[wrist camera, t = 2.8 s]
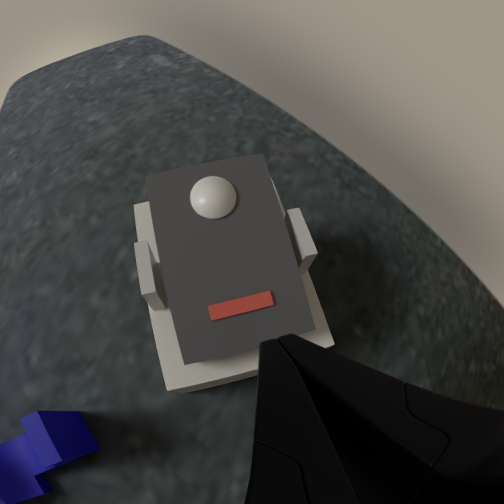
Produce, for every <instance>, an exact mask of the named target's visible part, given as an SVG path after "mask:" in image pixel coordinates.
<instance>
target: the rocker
mask: <svg viewBox="0 0 504 504" xmlns="http://www.w3.org/2000/svg"><path fill="white" fill-rule="evenodd" d="M145 179H146V186H147V193H148V199H149V205H150V211H151V217H152V223H153V229H154V234H155V240H156V245H157V250H158V255H159V260H160V265H161V270H162V275H163V280H164V284H165V289H166V294H167V298H168V302H169V307H170V311H171V315H172V319H173V323H174V327H175V332H176V335H177V339H178V343H179V347H180V351H181V355H182V358H183V362H184V365H188V364H193V363H197V362H201V361H206V360H210V359H214V358H218V357H222V356H226V355H230V354H234V353H238V352H241V351H245V350H249V349H253V348H256V347H259V344H260V342H262V341H266V340H269V339H273V338H274V339H277V338H278V337H280V336H283V335H287V334H290V333H292V334H295V335H297V336H298V335H301V334H304V333H307V332H310V331H314V330H316V328H315V324H314V321H313V317H312V313H311V310H310V306H309V303H308V299H307V296H306V292H305V288H304V285H303V281H302V278H301V275H300V271H299V268H298V264H297V261H296V257H295V254H294V251H293V247H292V244H291V241H290V237H289V234H288V231H287V227H286V224H285V221H284V218H283V214H282V211H281V208H280V205H279V202H278V198H277V195H276V192H275V189H274V186H273V183H272V180H271V176H270V173H269V170H268V167H267V164H266V161H265V158H264V155H263V153H262V154H256V155H249V156H243V157H237V158H231V159H225V160H219V161H213V162H208V163H203V164H197V165H192V166H187V167H182V168H177V169H172V170H168V171H163V172H158V173H154V174H150V175H145Z"/></svg>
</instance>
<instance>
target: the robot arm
mask: <svg viewBox="0 0 504 504" xmlns="http://www.w3.org/2000/svg"><path fill="white" fill-rule="evenodd" d="M244 504H504V410H501V409H496V408H492V407H487V406H483V405H478V404H474V403H470V402H466V401H461V400H458V399H454V398H451V397H447V396H443V395H440V394H437V393H434V392H431V391H428V390H426V389H423V388H420V387H417V386H415V385H412V384H410V383H407V382H406V383H404V381H402V380H399V379H397V378H394V377H392V376H389V375H387V374H385V373H382V372H380V371H377V370H375V369H372V368H370V367H368V366H365V365H363V364H361V363H358V362H356V361H354V360H351V359H349V358H347V357H344V356H342V355H340V354H337V353H335V352H333V351H331V350H328V349H326V348H324V347H322V346H319V345H317V344H315V343H313V342H310V341H308V340H306V339H304V338H302V337H299V336H297V335H295V334H292V333H290V334H287V335H283V336H280V337H278V338H277V339H274V338H273V339H269V340H266V341H262V342H260V344H259V361H258V378H257V395H256V411H255V427H254V443H253V454H252V464H251V472H250V479H249V484H248V489H247V494H246V498H245V502H244Z"/></svg>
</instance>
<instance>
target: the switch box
mask: <svg viewBox="0 0 504 504" xmlns="http://www.w3.org/2000/svg"><path fill="white" fill-rule="evenodd" d="M271 180H272V179H271ZM272 183H273V181H272ZM273 186H274V184H273ZM274 189H275V192H276V195H277V198H278V202H279V205H280V208H281V211H282V214H283V218H284V221H285V224H286V227H287V231H288V234H289V237H290V241H291V244H292V247H293V251H294V254H295V257H296V261H297V264H298V268H299V271H300V275H301V278H302V281H303V285H304V288H305V292H306V296H307V299H308V303H309V306H310V310H311V313H312V317H313V321H314V324H315V328H316V330H314V331H310V332H307V333H304V334H301V335H298V336H299V337H302V338H304V339H306V340H308V341H310V342H313V343H315V344H317V345H319V346H322V347H324V348H326V349H327V348H329V347H331V346H333V345H335V344H334V341H333V338H332V335H331V333H330V330H329V327H328V324H327V321H326V319H325V316H324V313H323V310H322V307H321V305H320V302H319V299H318V296H317V294H316V291H315V288H314V286H313V283H312V280H311V278H310V275H309V272H308V269H309V267H310V265H311V264H312V262H313V261H314V259H315V257H316V256H317V254H318V252H317V250H316V247H315V245H314V242H313V240H312V237H311V235H310V232H309V230H308V228H307V225H306V223H305V221H304V218H303V216H302V213H301V211H300V209H299V208H296V209H290V210H287V212H286V213H285V211H284V208H283V206H282V203H281V201H280V198H279V196H278V193H277V191H276V188H275V186H274ZM134 211H135V220H136V229H137V237H138V242H136V243H134V247H135V254H136V261H137V268H138V275H139V281H140V288H141V294H142V296H143V297H144V299H145V300H146V301H147V303H148V306H149V312H150V317H151V322H152V327H153V332H154V337H155V341H156V346H157V350H158V355H159V359H160V364H161V368H162V372H163V376H164V380H165V384H166V388H167V391H173V392H180V393H188V392H193V391H197V390H202V389H206V388H210V387H214V386H219V385H223V384H226V383H230V382H234V381H238V380H242V379H246V378H249V377H253V376H256V375H258V361H259V347H256V348H253V349H249V350H245V351H241V352H238V353H234V354H230V355H226V356H222V357H218V358H214V359H210V360H206V361H201V362H197V363H193V364H188V365H184V362H183V358H182V355H181V351H180V347H179V343H178V339H177V335H176V332H175V327H174V323H173V319H172V315H171V311H170V307H169V302H168V298H167V294H166V289H165V284H164V280H163V275H162V270H161V265H160V260H159V255H158V250H157V245H156V240H155V234H154V229H153V223H152V217H151V211H150V205H149V201H148V202H144V203H140V204H136V205H134Z"/></svg>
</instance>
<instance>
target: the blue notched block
mask: <svg viewBox="0 0 504 504" xmlns="http://www.w3.org/2000/svg"><path fill="white" fill-rule="evenodd" d="M20 421H21V423H22V425H23V428H24V430H25V432H26V433H24V434H23V435H21V436H19V437H17V438H15V439H13V440H10V441H8V442H5V443H2V444H0V504H15V503H18V502H21V501H24V500H27V499H30V498H33V497H36V496H40V495H43V494H45V493H48V492H50V491H52V489H51V487H50V486H49V484H48V482H47V481H46V479H45V477H44V475H43V474H42V473H44V472H47V471H49V470H52V469H54V468H57V467H59V466H62V465H64V464H67V463H69V462H71V461H74V460H76V459H78V458H81V457H83V456H85V455H87V454H90V453H92V452H94V451H96V450H99V449H100V448H99V446H98V445H97V443H96V441H95V440H94V438H93V436H92V434H91V432H90V431H89V429H88V427H87V425H86V423H85V421H84V419H83V418H82V416H81V414H80V412H79V411H35V412H33V413H31V414H29V415H27V416H25V417H23V418H21V419H20Z"/></svg>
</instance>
